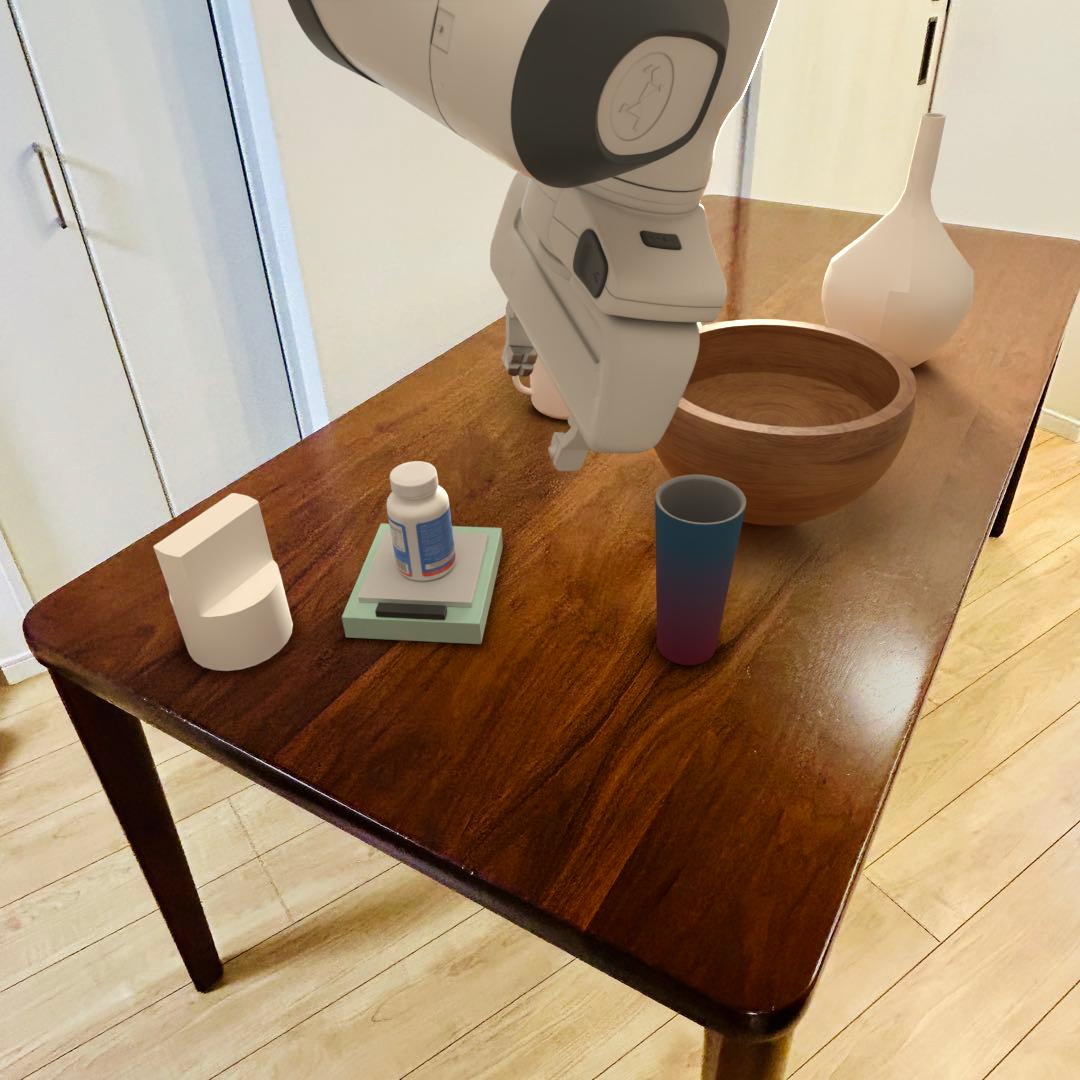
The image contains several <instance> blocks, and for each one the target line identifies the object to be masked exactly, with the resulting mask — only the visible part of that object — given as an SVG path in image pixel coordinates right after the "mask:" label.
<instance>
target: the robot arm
mask: <svg viewBox="0 0 1080 1080" xmlns="http://www.w3.org/2000/svg"><path fill="white" fill-rule="evenodd" d="M287 2H288V5H289V7H290V9H291V12H292V13H293V15H294V17H295V20H296V21H297V24H298V25H299V26H300V28H301V30H302V31H303V33H304V34H305V36H306V37H307V39H308V40H309V41H310V42H311V43H312V45H313V46H314V47H315V48H316V49H317V50H318V51H319V52H320V53H321V54H322V55H324V56H325V57H326V58H327V59H329V60H330V61H332V62H333V63H334V64H336V65H339V66H341V67H343V68H344V69H347V70H348V71H351V72H353V73H354V74H356V75H358V76H360V77H362V78H363V79H365V80H367V81H369V82H371V83H374V84H376V85H378V86H380V87H383V88H385V89H386V90H388V91H389V92H391V93H393V94H395V95H396V96H397V97H399V98H400V99H402V100H404V101H405V102H406V103H408V104H410V105H411V106H413V107H415V108H416V109H417V110H419V111H420V112H422V113H424V114H425V115H427V116H428V117H429V118H431V119H433V120H435V121H436V122H437V123H439V124H441V125H442V126H443V127H445V128H447V129H448V130H450V131H452V132H453V133H454V134H456V135H458V137H461V138H463V139H464V140H465V141H468V142H469V143H470V144H472V145H474V146H475V147H477V148H478V149H480V150H481V151H483V152H484V153H486V154H488V155H489V156H490V157H492V158H494V159H495V160H497V161H498V162H500V163H502V164H503V165H505V166H507V167H508V168H510V169H511V170H513V171H514V172H516V173H515V175H514V176H513V178H512V180H511V183H510V185H509V188H508V190H507V192H506V196H505V198H504V201H503V204H502V207H501V210H500V213H499V216H498V219H497V222H496V226H495V229H494V232H493V235H492V238H491V242H490V248H489V267H490V270H491V272H492V274H493V276H494V278H495V279H496V281H497V283H498V284H499V286H500V288H501V290H502V292H503V294H504V296H505V298H506V300H507V302H506V305H505V344H504V347H503V350H502V353H501V358H500V359H501V363H502V365H503V367H504V369H506V372H507V374H508V375H509V376H510V377H512V376H517V375H519V377H530V374H531V373H532V372H533V369H534V364H535V363H536V359H537V356H539V358H540V359H541V361H542V363H543V365H544V367H545V369H546V370H547V372H548V374H549V376H550V378H551V380H552V381H553V383H554V385H555V387H556V389H557V390H558V392H559V394H560V396H561V398H562V400H563V401H564V403H565V405H566V407H567V409H568V410H569V412H570V415H569V417H568V420H567V423H568V426H569V427H570V428H569V430H568V431H566V432H564V431H563V432H561V431H560V432H559V431H557V432H556V431H555V432H553V434H552V437H551V440H550V446H548V449H547V455H548V456H549V457H550V460H551V462H552V465H553V466H554V469H555V470H556V471H557V472H578V471H579V470H581V469H582V468H583V466H584V465H585V461H586V458H587V456H588V455H589V452H590V451H592V452H594V453H596V454H609V455H610V454H615V455H616V454H617V455H623V454H626V455H627V454H630V455H631V454H640V453H645V452H647V451H649V450H651V449H653V448H654V446H656V445H657V444H658V442H659V441H660V440H661V438H662V437H663V435H664V433H665V431H666V429H667V427H668V425H669V423H670V421H671V419H672V417H673V415H674V413H675V411H676V409H677V407H678V405H679V402H680V400H681V398H682V396H683V393H684V391H685V389H686V386H687V384H688V382H689V379H690V377H691V374H692V372H693V369H694V366H695V363H696V360H697V356H698V351H699V342H700V338H699V328H698V325H697V322H701V323H714V322H715V321H717V319H718V318H719V316H720V314H721V312H722V310H723V308H724V306H725V303H726V301H727V297H728V285H727V281H726V278H725V276H724V273H723V270H722V268H721V265H720V263H719V260H718V257H717V254H716V252H715V248H714V245H713V242H712V238H711V235H710V230H709V225H708V217H707V213H706V210H705V207H704V206H703V205H702V204H701V202H702V199H703V197H704V194H705V191H706V189H707V186H708V184H709V182H710V180H711V177H712V173H713V169H714V163H715V153H716V147H717V144H718V143H717V142H718V139H719V136H720V134H721V131H722V128H723V127H724V125H725V123H726V122H727V119H728V118H729V116H730V115H731V113H733V110H734V109H735V108H736V107H737V106H738V104H739V103H740V101H741V100H742V99H743V97H744V95H745V93H746V91H747V89H748V86H749V84H750V82H751V79H752V77H753V74H754V71H755V69H756V67H757V64H758V61H759V59H760V56H761V53H762V51H763V48H764V45H765V42H766V40H767V38H768V35H769V32H770V30H771V26H772V23H773V20H774V18H775V16H776V13H777V12H776V11H777V9H778V6H779V2H780V0H287Z"/></svg>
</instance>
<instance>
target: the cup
mask: <svg viewBox="0 0 1080 1080" xmlns="http://www.w3.org/2000/svg"><path fill="white" fill-rule="evenodd" d="M654 495H655V496H654V501H655V502H654V516H655V517H654V519H655V524H654V526H655V601H656V602H655V606H656V607H655V610H656V612H655V613H656V615H655V616H656V647H657V649H658V652H659V653H660V654H661V655H662V656H663V657H664V658H665V659H667V660H668V661H670V662H671V663H675V664H677V665H683V666H696V665H700V664H703V663H705V662H707V661H709V660H710V659H711V658H713V656H714V655H715V653H716V650H717V646H718V642H719V641H718V640H719V636H720V631H721V627H722V623H723V622H722V621H723V617H724V613H725V608H726V602H727V597H728V594H729V589H730V584H731V578H732V574H733V569H734V565H735V560H736V555H737V550H738V544H739V541H740V537H741V536H740V535H741V531H742V526H743V523H744V522H743V517H744V512H745V507H746V498H745V496H744V494H743V492H742V491H741V490H740V489H739V488H738V487H737V486H735V485H734V484H732V483H730V482H728V481H726V480H724V479H721V478H717V477H713V476H708V475H684V476H679V477H676V478H672V477H671V478H670V479H668V480H666V481H664V482H663V483H662V484H660V485H659V487H658V488H657V489H656V491H655V493H654Z"/></svg>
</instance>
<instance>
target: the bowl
mask: <svg viewBox="0 0 1080 1080" xmlns="http://www.w3.org/2000/svg"><path fill="white" fill-rule="evenodd" d="M698 328H699V338H700V342H699V351H698V356H697V360H696V363H695V366H694V369H693V372H692V374H691V377H690V379H689V382H688V384H687V386H686V389H685V391H684V393H683V396H682V398H681V400H680V402H679V405H678V407H677V409H676V411H675V413H674V415H673V417H672V419H671V421H670V423H669V425H668V427H667V429H666V431H665V433H664V435H663V437H662V438H661V440H660V441H659V442H658V444H657V445H656V446H654V447H653V448H654V451H655V453H656V455H657V457H658V459H659V461H660V462H661V464H662V466H663V468H664V469H665V470H666V472H667V473H668V475H669V476H670V477H671V479H672V478H676V477H679V476H684V475H708V476H713V477H717V478H721V479H724V480H726V481H728V482H730V483H732V484H734V485H735V486H737V487H738V488H739V489H740V490H741V491H742V492H743V494H744V496H745V498H746V507H745V512H744V517H743V522H742V523H747V524H752V525H759V526H790V525H798V524H802V523H803V524H804V523H807V522H811V521H815V520H817V519H821V518H824V517H826V516H829V515H831V514H833V513H836V512H837V511H840V510H841V509H844V508H845V507H847V506H849V505H850V504H852V503H853V502H855V501H856V500H858V499H860V498H861V497H862V496H863V495H864V494H866V493H867V492H868V491H869V490H870V489H871V488H873V486H874V485H876V484H877V482H878V481H880V480H881V478H882V477H883V476H884V475H885V474H886V472H887V471H888V470H889V468H890V467H891V466H892V464H893V463H894V461H895V460H896V458H897V456H898V455H899V454H900V451H901V450H902V447H903V446H904V443H905V441H906V439H907V436H908V434H909V431H910V428H911V425H912V421H913V417H914V412H915V408H916V401H917V400H916V399H917V381H916V377H915V375H914V373H913V371H912V368H909V367H908V365H907V364H906V363H905V362H904V361H903V360H902V359H901V358H900V357H898V356H897V355H896V354H894V353H893V352H892V351H890V350H888V349H887V348H885V347H883V346H882V345H880V344H878V343H876V342H874V341H871V340H869V339H867V338H864V337H862V336H859V335H856V334H853V333H850V332H847V331H844V330H840V329H836V328H832V327H828V326H826V325H823V324H819V323H818V324H817V323H813V322H805V321H798V320H787V319H785V320H784V319H769V318H767V319H766V318H762V319H761V318H757V319H755V318H754V319H751V318H750V319H735V320H726V321H720V322H712V323H708V324H705V325H702V326H700V327H698Z"/></svg>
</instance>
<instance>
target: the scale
mask: <svg viewBox="0 0 1080 1080" xmlns="http://www.w3.org/2000/svg"><path fill="white" fill-rule="evenodd" d="M452 530H453V538H454V546H455V554H456V561H455V564H454V566H453V568H452V569H451V570H450V571H449V572H448V573H447V574H445V575H444V576H442V577H439V578H437V579H433V580H428V581H418V580H412V579H409V578H407V577H405V576H404V575H402V574H401V573H400V571H399V570H398V568H397V565H396V560H395V554H394V548H393V542H392V536H391V531H390V525H389V523H383V522H382V523H380V524H379V527H378V529H377V531H376V534H375V537H374V539H373V541H372V543H371V546H370V548H369V550H368V553H367V555H366V558H365V561H364V562H363V565H362V568H361V570H360V573H359V575H358V577H357V579H356V581H355V584H354V587H353V589H352V591H351V594H350V596H349V598H348V601H347V603H346V605H345V607H344V610H343V614H341V621H342V626H343V631H344V635H345V638H349V639H350V638H351V639H367V640H368V639H370V640H389V641H390V640H391V641H410V642H426V643H427V642H429V643H448V644H469V645H481V644H482V643H483V637H484V634H485V629H486V625H487V620H488V615H489V610H490V606H491V602H492V596H493V593H494V589H495V584H496V579H497V575H498V571H499V566H500V561H501V556H502V553H503V547H504V544H503V530H502V527H486V526H482V527H481V526H462V525H461V526H459V525H452Z"/></svg>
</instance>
